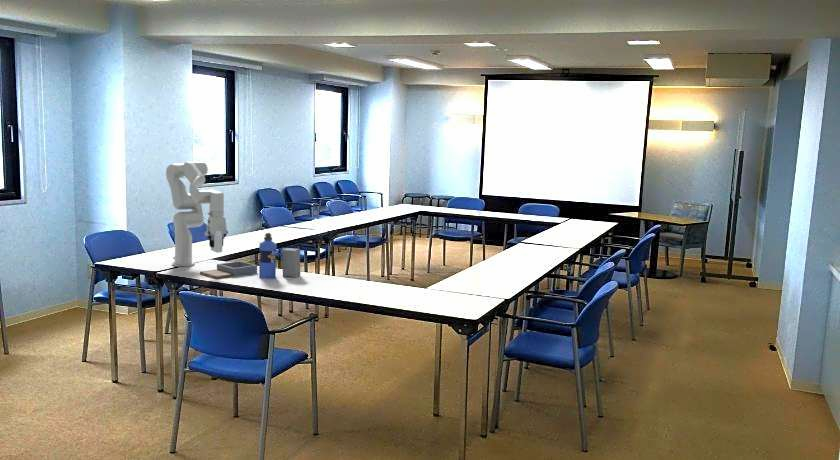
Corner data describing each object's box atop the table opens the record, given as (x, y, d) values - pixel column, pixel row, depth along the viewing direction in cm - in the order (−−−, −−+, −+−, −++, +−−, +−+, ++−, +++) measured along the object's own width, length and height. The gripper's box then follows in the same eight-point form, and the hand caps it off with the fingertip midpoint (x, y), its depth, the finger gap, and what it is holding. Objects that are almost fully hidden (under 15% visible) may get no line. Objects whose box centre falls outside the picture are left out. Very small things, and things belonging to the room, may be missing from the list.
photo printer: (209, 249, 392) (209, 228, 391) (217, 249, 395) (217, 227, 393) (215, 253, 384) (215, 230, 382) (223, 252, 387) (223, 230, 385)
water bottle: (279, 276, 397) (280, 233, 393) (269, 279, 388) (269, 235, 385) (265, 274, 400) (266, 231, 397) (255, 277, 392) (256, 233, 388)
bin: (216, 271, 401) (216, 264, 400) (240, 268, 413) (240, 260, 413) (233, 276, 391) (233, 268, 390) (257, 272, 403) (257, 265, 403)
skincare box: (300, 275, 402) (301, 248, 399) (294, 278, 395) (295, 250, 393) (287, 274, 404) (288, 247, 402) (281, 276, 398) (281, 248, 395)
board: (200, 274, 393) (200, 271, 392) (215, 271, 400) (215, 269, 400) (216, 279, 383) (216, 276, 382) (232, 276, 390) (232, 274, 390)
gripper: (207, 215, 378) (206, 248, 380) (233, 213, 391) (233, 245, 393) (199, 214, 382) (199, 247, 385) (225, 212, 396) (225, 244, 398)
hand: (216, 246), depth 389 cm, fingers closed on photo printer, 5 cm apart
